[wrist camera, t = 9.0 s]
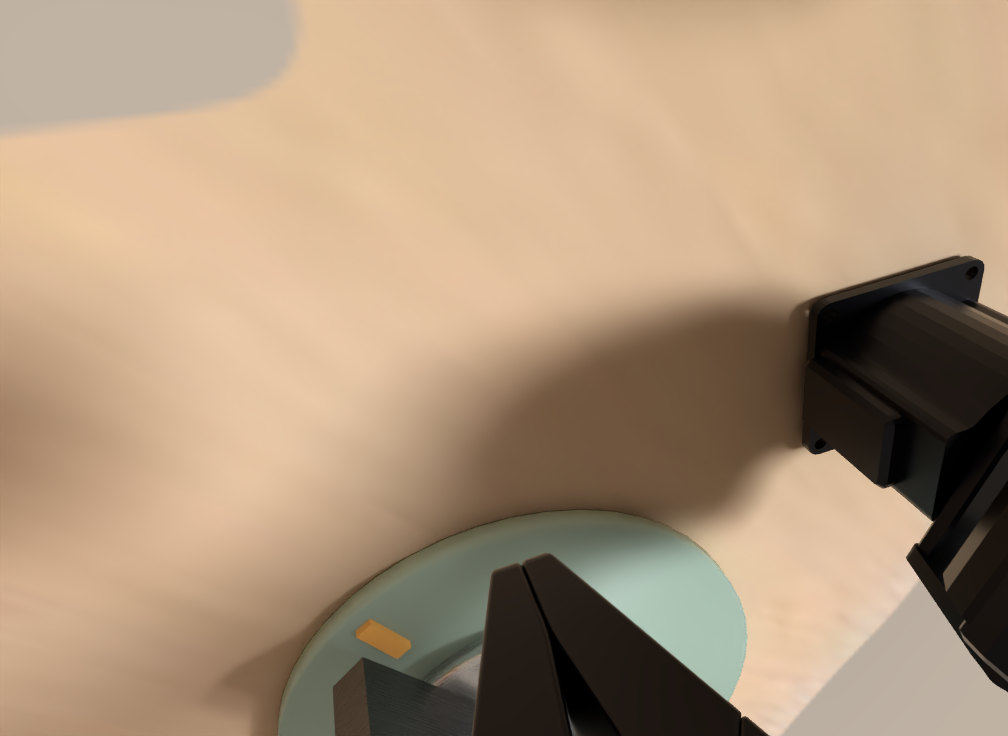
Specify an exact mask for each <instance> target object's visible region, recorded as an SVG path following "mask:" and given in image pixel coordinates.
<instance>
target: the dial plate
mask: <svg viewBox="0 0 1008 736" xmlns="http://www.w3.org/2000/svg"><path fill="white" fill-rule="evenodd" d="M543 553H551V554H553V555H554V556H555V557H556V558H558V559H559V560H560V561H561V562H562V563H564V564H565V565H566V566H567V567H568V568H570V569H571V570H572V571H573V572H574V573H576V574H577V575H578V576H579V577H580V578H582V579H583V580H584V581H585V582H586V583H587V584H589V585H590V586H591V587H592V588H593V589H595V590H596V591H597V592H598V593H599V594H601V595H602V596H603V597H604V598H605V599H607V600H608V601H609V602H610V603H611V604H613V605H614V606H615V607H616V608H617V609H618V610H620V611H621V612H622V613H623V614H624V615H626V616H627V617H628V618H629V619H630V620H632V621H633V622H634V623H635V624H636V625H638V626H639V627H640V628H641V629H642V630H644V631H645V632H646V633H647V634H648V635H649V636H651V637H652V638H653V639H654V640H655V641H657V642H658V643H659V644H660V645H661V646H663V647H664V648H665V649H666V650H667V651H669V652H670V653H671V654H672V655H673V656H675V657H676V658H677V659H678V660H679V661H681V662H682V663H683V664H684V665H685V666H686V667H688V668H689V669H690V670H691V671H692V672H694V673H695V674H696V675H697V676H698V677H700V678H701V679H702V680H703V681H704V682H706V683H707V684H708V685H709V686H710V687H712V688H713V689H714V690H715V691H716V692H717V693H719V694H720V695H721V696H722V697H723V698H725V699H726V700H727V701H729V699H730V698H731V696H732V694H733V691H734V689H735V687H736V684H737V682H738V680H739V677H740V675H741V671H742V667H743V663H744V660H745V655H746V645H747V629H746V618H745V614H744V611H743V608H742V605H741V601H740V599H739V597H738V595H737V593H736V592H735V590H734V588H733V586H732V584H731V583H730V581H729V580H728V578H727V577H726V576H725V574H724V573H723V571H722V570H721V569H720V567H719V566H718V565H717V563H716V562H715V561H714V560H713V559H712V558H711V557H710V555H709V554H708V553H707V552H706V551H705V550H704V549H703V548H702V547H700V546H699V545H698V544H696V543H695V542H694V541H693V540H691V539H690V538H689V537H687V536H686V535H684V534H682V533H680V532H678V531H676V530H674V529H672V528H670V527H668V526H667V525H664V524H661V523H658V522H655V521H652V520H649V519H646V518H643V517H640V516H634V515H629V514H623V513H618V512H613V511H596V510H566V511H548V512H542V513H536V514H530V515H523V516H517V517H512V518H508V519H504V520H501V521H497V522H493V523H489V524H486V525H482V526H478V527H475V528H473V529H470V530H467V531H465V532H462V533H459V534H457V535H454V536H451V537H449V538H446V539H443V540H441V541H439V542H437V543H435V544H433V545H431V546H429V547H427V548H425V549H423V550H421V551H419V552H417V553H415V554H413V555H411V556H409V557H407V558H405V559H404V560H402V561H401V562H399V563H397V564H396V565H394V566H393V567H391V568H389V569H388V570H386V571H384V572H383V573H381V574H380V575H378V576H377V577H375V578H374V579H373V580H372V581H370V582H369V583H368V584H366V585H365V586H364V587H363V588H361V589H360V590H359V591H357V592H356V593H355V594H354V595H352V596H351V597H350V598H349V599H348V600H347V601H346V602H345V603H344V604H343V605H342V606H341V607H340V608H339V609H337V610H336V611H335V612H334V613H333V614H332V615H331V616H330V617H329V618H328V619H327V620H326V621H325V623H324V624H323V625H322V626H321V628H320V629H319V630H318V631H317V633H316V634H315V635H314V636H313V638H312V639H311V640H310V641H309V643H308V644H307V645H306V647H305V649H304V651H303V652H302V654H301V656H300V657H299V659H298V661H297V662H296V664H295V666H294V667H293V669H292V672H291V674H290V677H289V679H288V682H287V684H286V687H285V689H284V692H283V696H282V701H281V706H280V711H279V716H278V736H335V724H334V705H333V686H334V685H335V684H336V683H337V682H338V681H339V680H340V679H341V678H342V677H343V676H344V675H345V674H346V673H347V672H348V671H349V670H350V669H351V668H352V667H353V666H354V665H355V664H356V663H357V662H358V661H359V660H360V659H361V658H362V657H364V658H367V659H369V660H372V661H374V662H377V663H379V664H382V665H384V666H387V667H389V668H392V669H394V670H397V671H400V672H402V673H405V674H407V675H410V676H412V677H415V678H417V679H420V680H421V679H422V678H423V677H424V676H425V675H426V674H428V673H429V672H430V671H431V670H432V669H433V668H434V667H436V666H437V665H438V664H440V663H441V662H442V661H444V660H445V659H447V658H448V657H449V656H451V655H452V654H454V653H455V652H457V651H459V650H461V649H462V648H464V647H466V646H467V645H469V644H471V643H473V642H475V641H477V640H479V639H481V638H483V635H484V627H485V618H486V610H487V601H488V593H489V584H490V576H491V573H492V571H493V570H495V569H498V568H501V567H504V566H507V565H510V564H513V563H519V564H521V566H522V562H523V561H524V560H525V559H528V558H531V557H534V556H537V555H540V554H543Z"/></svg>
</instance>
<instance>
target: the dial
mask: <svg viewBox="0 0 1008 736" xmlns="http://www.w3.org/2000/svg"><path fill="white" fill-rule="evenodd" d="M482 644H483V638H481V639H479V640H477V641H475V642H473V643H471V644H469V645H467V646H466V647H464V648H462V649H461V650H459V651H457V652H455V653H454V654H452V655H451V656H449V657H448V658H447V659H445V660H444V661H442V662H441V663H440V664H438V665H437V666H436V667H434V668H433V669H432V670H431V671H430V672H429V673H428V674H426V675H425V676H424V677H423V678H422V679H421V680H420V679H417V678H415V677H412V676H410V675H407V674H405V673H402V672H400V671H397V670H394V669H392V668H389V667H387V666H384V665H382V664H379V663H377V662H374V661H372V660H369V659H367V658H364V657H362V658H361V659H360V660H359V661H358V662H357V663H356V664H355V665H354V666H353V667H352V668H351V669H350V670H349V671H348V672H347V673H346V674H345V675H344V676H343V677H342V678H341V679H340V680H339V681H338V682H337V683H336V684H335V685H334V686H333V705H334V724H335V736H472V728H473V720H474V711H475V703H476V694H477V686H478V677H479V669H480V661H481V652H482ZM569 721H570V718H569ZM570 725H571V730H572V734H573V736H577V735H576V733H575V730H574V728H573V726H572V724H571V721H570Z"/></svg>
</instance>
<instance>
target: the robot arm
mask: <svg viewBox="0 0 1008 736" xmlns="http://www.w3.org/2000/svg"><path fill="white" fill-rule="evenodd" d="M983 273H984V263H983V262H982V261H981V260H979V259H976V258H974V257H971V256H964V257H960V258H957V259H953V260H950V261H947V262H943V263H940V264H937V265H933V266H930V267H927V268H923V269H920V270H916V271H913V272H910V273H906V274H903V275H900V276H896V277H893V278H890V279H886V280H883V281H879V282H876V283H873V284H869V285H866V286H863V287H859V288H856V289H853V290H849V291H846V292H843V293H839V294H836V295H832V296H829V297H826V298H823V299H821V300H819V301H817V302H816V303H815V304H814V305H813V307H812V309H811V311H810V315H809V332H808V349H807V365H806V369H805V387H804V405H803V437H802V443H803V446H804V447H805V448H806V449H807V450H808V451H809V452H811V453H812V454H815V455H816V454H821V453H824V452H827V451H830V450H833V449H835V450H836V451H837V452H839V453H840V454H841V455H842V456H843V457H844V458H845V459H847V460H848V461H849V462H850V463H851V464H852V465H853V466H855V467H856V468H857V469H858V470H859V471H860V472H861V473H863V474H864V475H865V476H866V477H867V478H868V479H869V480H871V481H872V482H873V483H874V484H876V485H877V486H879V487H881V488H887V487H890V486H892V487H893V488H894V489H895V490H896V491H897V492H899V493H900V494H901V495H902V496H903V497H904V498H906V499H907V500H908V501H909V502H910V503H911V504H913V505H914V506H915V507H916V508H917V509H919V510H920V511H921V512H922V513H923V514H924V515H926V516H927V517H928V518H929V519H930V520H931V521H933V523H932V524H931V526H930V527H929V529H928V530H927V532H926V533H925V535H924V536H923V538H922V540H921V541H920V543H916V544H914V546H913V547H912V549H911V550H910V552H909V553H908V555H907V556H906V559H907V561H908V562H909V564H910V565H911V566H912V568H913V569H914V571H915V572H916V574H917V575H918V577H919V578H920V580H921V581H922V583H923V584H924V586H925V587H926V589H927V590H928V592H929V593H930V595H931V596H932V597H933V599H934V600H935V602H936V603H937V605H938V606H939V608H940V609H941V611H942V612H943V614H944V615H945V617H946V618H947V620H948V621H949V623H950V624H951V626H952V627H953V628H954V630H955V631H956V633H957V634H958V636H959V637H960V639H961V640H962V642H963V643H964V645H965V646H966V648H967V649H968V650H969V652H970V654H971V655H972V656H973V658H974V659H975V660H976V661H977V663H978V664H979V665H980V666H981V668H982V669H983V670H984V672H985V673H986V675H987V676H988V677H989V679H990V680H991V681H992V682H993V683H994V684H996V685H997V686H999V687H1000V688H1002V689H1004V690H1006V691H1007V692H1008V316H1006V315H1004V314H1001V313H999V312H997V311H995V310H993V309H991V308H989V307H987V306H985V305H982V304H980V303H978V298H979V293H980V288H981V283H982V278H983ZM828 310H829V312H828V314H827V315H826V316H825V317H824V314H825V313H826V312H827V311H828ZM569 718H570V721H571V724H572V726H573V728H574V730H575V733H576V735H577V736H769V735H768V734H767V733H766V732H764V731H763V730H762V729H761V728H760V727H758V726H757V725H756V724H755V723H754V722H752V721H751V720H750V719H749V718H748V717H746V716H744V717H742V718H741V712H740V711H739V710H738V709H737V708H735V707H734V706H733V705H732V704H731V703H729V702H728V701H727V700H726V699H725V698H723V697H722V696H721V695H720V694H719V693H717V692H716V691H715V690H714V689H713V688H712V687H710V686H709V685H708V684H707V683H706V682H704V681H703V680H702V679H701V678H700V677H698V676H697V675H696V674H695V673H694V672H692V671H691V670H690V669H689V668H688V667H686V666H685V665H684V664H683V663H682V662H681V661H679V660H678V659H677V658H676V657H675V656H673V655H672V654H671V653H670V652H669V651H667V650H666V649H665V648H664V647H663V646H661V645H660V644H659V643H658V642H657V641H655V640H654V639H653V638H652V637H651V636H649V635H648V634H647V633H646V632H645V631H644V630H642V629H641V628H640V627H639V626H638V625H636V624H635V623H634V622H633V621H632V620H630V619H629V618H628V617H627V616H626V615H624V614H623V613H622V612H621V611H620V610H618V609H617V608H616V607H615V606H614V605H613V604H611V603H610V602H609V601H608V600H607V599H605V598H604V597H603V596H602V595H601V594H599V593H598V592H597V591H596V590H595V589H593V588H592V587H591V586H590V585H589V584H587V583H586V582H585V581H584V580H583V579H582V578H580V577H579V576H578V575H577V574H576V573H574V572H573V571H572V570H571V569H570V568H568V567H567V566H566V565H565V564H564V563H562V562H561V561H560V560H559V559H558V558H556V557H555V556H554V555H553V554H551V553H543V554H540V555H537V556H534V557H531V558H528V559H525V560H524V561H523V562H522V566H521V564H519V563H513V564H510V565H507V566H504V567H501V568H498V569H495V570H493V571H492V573H491V576H490V584H489V593H488V601H487V610H486V618H485V627H484V635H483V644H482V652H481V661H480V669H479V677H478V686H477V694H476V703H475V711H474V720H473V728H472V736H573V734H572V730H571V725H570V721H569Z"/></svg>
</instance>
